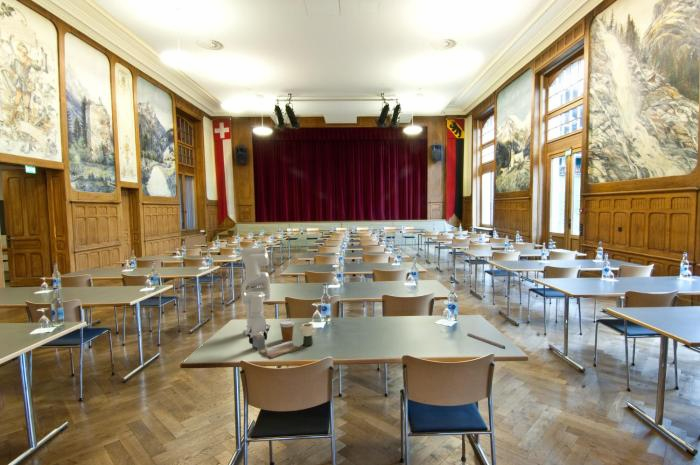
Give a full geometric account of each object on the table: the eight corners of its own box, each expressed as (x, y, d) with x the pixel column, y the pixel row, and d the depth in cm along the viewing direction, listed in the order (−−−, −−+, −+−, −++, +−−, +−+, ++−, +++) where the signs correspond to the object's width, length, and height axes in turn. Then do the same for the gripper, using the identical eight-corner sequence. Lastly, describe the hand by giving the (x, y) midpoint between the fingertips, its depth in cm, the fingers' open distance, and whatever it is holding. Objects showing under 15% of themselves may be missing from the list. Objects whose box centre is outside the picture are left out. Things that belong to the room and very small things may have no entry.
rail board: (259, 352, 221) (259, 347, 221) (286, 343, 235) (286, 338, 235) (271, 358, 211) (271, 353, 211) (299, 349, 225) (299, 344, 225)
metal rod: (469, 335, 244) (469, 332, 244) (505, 348, 221) (505, 345, 221) (467, 336, 243) (467, 333, 243) (503, 349, 220) (503, 345, 220)
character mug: (317, 343, 235) (317, 323, 234) (315, 347, 228) (314, 326, 227) (301, 342, 236) (300, 322, 235) (298, 346, 229) (297, 326, 228)
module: (252, 347, 228) (251, 335, 228) (259, 345, 232) (258, 333, 231) (257, 350, 223) (257, 338, 223) (264, 348, 227) (264, 336, 226)
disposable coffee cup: (297, 338, 244) (296, 320, 243) (289, 343, 235) (289, 325, 234) (285, 336, 248) (284, 319, 247) (277, 341, 239) (276, 323, 238)
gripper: (266, 310, 235) (267, 336, 235) (241, 316, 223) (242, 343, 223) (272, 312, 229) (273, 339, 230) (247, 318, 217) (248, 346, 218)
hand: (258, 341), depth 227 cm, fingers open, 9 cm apart
